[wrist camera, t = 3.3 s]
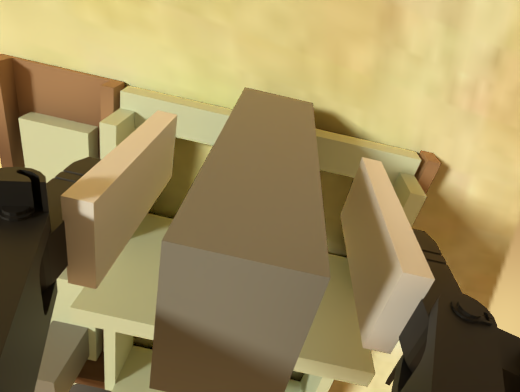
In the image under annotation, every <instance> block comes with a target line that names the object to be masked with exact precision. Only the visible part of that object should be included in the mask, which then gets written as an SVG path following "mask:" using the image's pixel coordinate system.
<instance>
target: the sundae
mask: <svg viewBox="0 0 520 392" xmlns="http://www.w3.org/2000/svg"><path fill="white" fill-rule="evenodd" d="M69 392H112V391H109V390H105V389H102V388H97V387H92V386H88V385H83V384H75V385H73V386H72V387H71V389H70V391H69Z"/></svg>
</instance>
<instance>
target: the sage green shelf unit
mask: <svg viewBox="0 0 520 392" xmlns="http://www.w3.org/2000/svg"><path fill="white" fill-rule="evenodd" d="M158 110H159V111H164V112H168V113H172V114H177V125H176V136H175V137H177V138H181V139H186V140H190V141H194V142H199V143H203V144H208V145H212V146H213V147H212V149H211V151H210V153H209V155H208V156H207V158H206V160H205V162H204V164H203V166H202V167H201V169H200V171H199V173H198V175H197V177H196V178H195V180H194V182H193V184H192V186H191V188H190V189H189V191H188V193H187V195H186V197H185V199H184V200H183V202H182V204H181V206H180V208H179V210H178V211H177V213H176V215H175V217H174V219H172V218H167V217H163V216H158V215H154V214H149V213H147V215H146V216H145V218H144V219H143V221H142V222H141V224H140V225H139V227H138V228H137V230H136V231H135V233H134V234H133V235H132V237H131V238H130V240H129V241H128V243H127V244H126V246H125V247H124V249H123V250H122V252H121V253H120V255H119V256H118V258H117V259H116V261H115V262H114V264H113V265H112V267H111V268H110V270H109V271H108V273H107V274H106V276H105V277H104V279H103V280H102V282H101V283H100V285H99V286H98V288H97V289H92V288H88V287H84V288H83V290H82V291H81V292H80V294H79V295H78V297H77V298H76V299H75V301H74V302H73V303H72V305H71V306H70V315H71V322H72V323H76V324H81V325H86V326H90V327H95V328H99V329H104V374H105V390H109V391H112V392H328V391H329V389H330V387H331V385H332V383H333V381H334V380H338V381H343V382H347V383H352V384H356V385H361V386H366V387H368V385H369V384H370V382H371V380H372V379H373V377H374V375H375V370H374V365H373V360H372V354H371V350H370V349H366V348H363V346H362V340H361V335H360V329H359V323H358V317H357V311H356V305H355V299H354V293H353V288H352V282H351V276H350V270H349V264H348V258H346V257H341V256H337V255H332V254H328V248H327V238H326V228H325V218H324V208H323V198H322V188H321V178H320V170H321V171H326V172H330V173H335V174H339V175H343V176H348V177H352V178H354V177H355V175H356V172H357V169H358V167H359V164H360V161H361V159H362V157H364V158H369V159H373V160H377V161H381V162H382V164H383V166H384V168H385V171H386V173H387V175H388V177H389V179H390V182H391V184H392V186H393V188H394V190H395V193H396V195H397V197H398V199H399V201H400V204H401V206H402V208H403V210H404V212H405V215H406V217H407V219H408V221H409V223H410V226H411V227H412V225H413V223H414V221H415V219H416V217H417V215H418V214H419V212H420V210H421V208H422V206H423V204H424V202H425V200H426V198H427V196H426V194H425V193H424V191H423V189H422V188H421V186H420V184H419V183H418V181H417V179H416V178H415V176H414V175H415V173H416V171H417V169H418V166H419V164H420V162H421V159H420V157H419V156H418V154H417V153H416V151H411V150H407V149H403V148H398V147H394V146H389V145H385V144H381V143H376V142H372V141H368V140H363V139H359V138H355V137H350V136H346V135H342V134H337V133H333V132H329V131H324V130H320V129H316V128H315V119H314V109H313V103H310V102H306V101H301V100H297V99H293V98H289V97H284V96H280V95H276V94H271V93H267V92H263V91H258V90H254V89H250V88H244V90H243V92H242V94H241V96H240V98H239V99H238V101H237V103H236V105H235V107H234V109H229V108H224V107H220V106H216V105H211V104H207V103H203V102H198V101H194V100H190V99H185V98H181V97H177V96H172V95H168V94H164V93H159V92H155V91H151V90H146V89H142V88H138V87H133V86H128V87H126V88H124V89H122V90H121V91H120V108H119V109H118V110H116V111H115V112H114V113H112V114H111V115H109V116H108V117H106V118H105V119H103V120H102V121H100V122H99V127H100V159H101V160H102V159H103V158H104V157H105V156H106V155H107V154H109V153H110V152H111V151H112V150H113V149H114V148H115V147H117V146H118V145H119V144H120V143H121V142H122V141H123V140H125V139H126V138H127V137H128V136H129V135H130V134H131V133H132V132H134V131H135V130H136V129H137V128H138V127H139V126H140V125H142V124H143V123H144V122H145V121H146V120H147V119H148V118H150V117H151V116H152V115H153V114H154V113H155V112H156V111H158ZM133 336H136V337H141V338H145V339H150V340H153V349H147V348H143V347H138V346H134V345H133ZM293 371H297V372H301V373H304V374H303V377H302V379H301V381H300V382H299V381H295V380H290V377H291V375H292V372H293Z"/></svg>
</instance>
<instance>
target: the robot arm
mask: <svg viewBox="0 0 520 392" xmlns="http://www.w3.org/2000/svg"><path fill="white" fill-rule="evenodd" d="M176 125H177V114H172V113H168V112H164V111H159V110H158V111H156V112H155V113H154V114H153V115H152V116H151V117H150V118H148V119H147V120H146V121H145V122H144V123H143V124H142V125H140V126H139V127H138V128H137V129H136V130H135V131H134V132H132V133H131V134H130V135H129V136H128V137H127V138H126V139H125V140H123V141H122V142H121V143H120V144H119V145H118V146H117V147H115V148H114V149H113V150H112V151H111V152H110V153H109V154H107V155H106V156H105V157H104V158H103V159H102V160H101V159H97V158H92V157H86V158H84V159H81V160H78V161H75V162H73V163H72V164H70V165H69V166H68V167H67V168H65V169H64V170H63V172H62V171H61V172H60V173H59V174H58V175H56V176H55V178H52V179H51V180H50V181H49V182H47V183H46V176H44V175H43V174H42V173H41V172H40V171H37V170H35V169H32V168H25V167H4V168H0V392H34V391H35V386H36V382H37V378H38V373H39V369H40V365H41V361H42V356H43V352H44V348H45V344H46V339H47V335H48V331H49V326H50V322H51V318H52V314H53V309H54V305H55V301H56V297H57V292H58V290H57V278H58V277H59V276H60V275H61V273H62V272H63V271H64V270H65V268H66V267H67V278H68V283H70V284H74V285H79V286H83V287H88V288H92V289H97V288H98V286H99V285H100V283H101V282H102V280H103V279H104V277H105V276H106V274H107V273H108V271H109V270H110V268H111V267H112V265H113V264H114V262H115V261H116V259H117V258H118V256H119V255H120V253H121V252H122V250H123V249H124V247H125V246H126V244H127V243H128V241H129V240H130V238H131V237H132V235H133V234H134V233H135V231H136V230H137V228H138V227H139V225H140V224H141V222H142V221H143V219H144V218H145V216H146V215H147V213H148V212H149V210H150V209H151V207H152V206H153V204H154V203H155V201H156V200H157V198H158V197H159V195H160V194H161V192H162V191H163V189H164V188H165V186H166V185H167V183H168V182H169V180H170V179H171V177H172V169H173V158H174V147H175V136H176ZM340 217H341V223H342V229H343V235H344V241H345V246H346V252H347V258H348V264H349V270H350V276H351V282H352V288H353V293H354V299H355V305H356V311H357V317H358V323H359V329H360V335H361V340H362V346H363V348H366V349H370V350H375V351H379V352H384V353H388V354H391V352H392V350H393V349H394V347H395V345H396V344H397V342H398V340H400V344H401V348H402V351H403V355H402V357H401V358H400V360H399V361H398V363H397V364H396V366H395V368H394V369H393V371H392V372H391V374H390V376H389V377H388V379H387V381H386V384H388V385H390V384H391V382H392V381H393V380H394V381H393V386H392V392H520V338H519V337H517V336H514V335H512V334H510V333H508V332H505V331H503V330H501V329H499V328H497V324H496V322H495V319H494V317H493V316H492V314H491V313H490V312H489V311H488V309H487V308H485V307H484V306H483V305H482V304H480V303H479V302H478V301H476V300H475V299H473V298H471V297H469V296H468V295H465V294H462V292H461V290H460V288H459V286H458V284H457V282H456V280H455V279H454V277H453V275H452V273H451V271H450V269H449V267H448V265H446V261H445V259H444V257H443V256H441V252H440V250H439V248H438V246H437V244H436V242H435V241H434V240H433V239H432V238H431V237H430V236H428V235H427V234H426V233H425V232H424V231H420V230H416V229H412V228H411V226H410V223H409V221H408V219H407V217H406V215H405V212H404V210H403V208H402V206H401V204H400V201H399V199H398V197H397V195H396V193H395V190H394V188H393V186H392V184H391V182H390V179H389V177H388V175H387V173H386V171H385V168H384V166H383V164H382V162H381V161H377V160H373V159H369V158H364V157H362V159H361V161H360V164H359V167H358V169H357V172H356V175H355V177H354V180H353V183H352V185H351V188H350V190H349V193H348V196H347V198H346V201H345V204H344V206H343V209H342V212H341V214H340Z"/></svg>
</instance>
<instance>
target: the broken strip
mask: <svg viewBox="0 0 520 392" xmlns="http://www.w3.org/2000/svg"><path fill="white" fill-rule="evenodd" d="M18 119H19V127H20V134H21V141H22V149H23V156H24V163H25V168H32V169H35V170H37V171H40V172H41V173H42V174H43V175H44V176H46V183H47V182H49V181H50V180H51V179H52V178H55V176H56V175H58V174H59V173H60V172H61V171H62V172H63V170H64V169H65V168H67V167H68V166H69V165H70V164H72V163H73V162H75V161H78V160H81V159H84V158H86V157H92V158H97V159H99V157H98V127H97V126H92V125H88V124H84V123H79V122H75V121H70V120H66V119H62V118H57V117H53V116H48V115H44V114H40V113H35V112H30V113H27V114H25V115H23V116H21V117H19V118H18ZM83 288H84V287H83V286H79V285H74V284H70V283H68V278H67V267H66V268H65V270H64V271H63V272H62V273H61V275H60V276H59V277H58V278H57V290H58V292H57V297H56V301H55V305H54V309H53V314H52V318H51V322H50V326H49V331H48V335H47V339H46V344H45V348H44V352H43V356H42V361H41V365H40V369H39V373H38V378H37V382H36V386H35V391H34V392H69V391H70V389H71V387H72V385H73V383H74V382H75V380H76V378H77V376H78V375H79V373H80V371H81V369H82V368H83V366H84V364H85V362H86V361H87V359H88V360H93V361H97V359H98V358H99V356H100V354H101V352H102V350H103V333H102V329H99V328H95V327H90V326H86V325H81V324H76V323H72V322H71V315H70V306H71V305H72V303H73V302H74V301H75V299H76V298H77V297H78V295H79V294H80V292H81V291H82V290H83Z"/></svg>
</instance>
